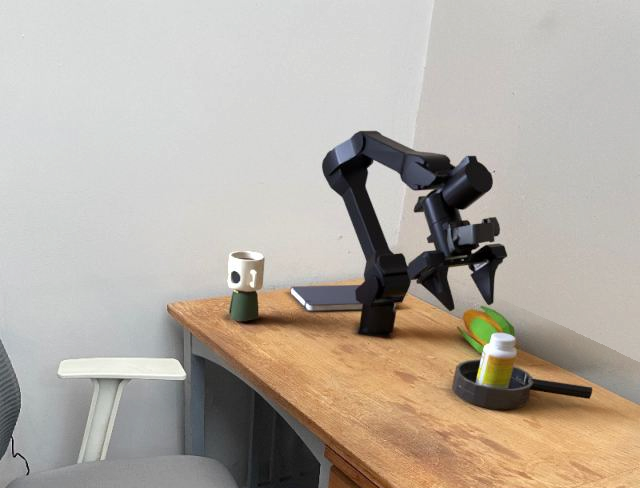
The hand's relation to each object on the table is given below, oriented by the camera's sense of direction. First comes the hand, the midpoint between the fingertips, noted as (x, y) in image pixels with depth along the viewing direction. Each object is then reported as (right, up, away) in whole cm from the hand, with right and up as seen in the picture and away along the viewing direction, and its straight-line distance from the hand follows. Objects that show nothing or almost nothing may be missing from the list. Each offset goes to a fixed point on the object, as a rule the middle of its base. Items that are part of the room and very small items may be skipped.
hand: (471, 307), depth 136 cm
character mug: (-40, +4, +26) cm, 48 cm away
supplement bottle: (+3, -15, +1) cm, 15 cm away
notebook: (-18, +12, +40) cm, 45 cm away
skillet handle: (+14, -16, -2) cm, 21 cm away
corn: (+8, -3, +21) cm, 22 cm away
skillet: (+3, -15, +1) cm, 16 cm away
